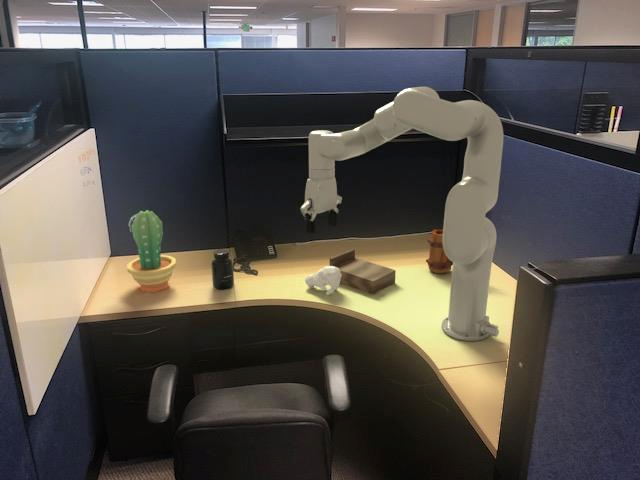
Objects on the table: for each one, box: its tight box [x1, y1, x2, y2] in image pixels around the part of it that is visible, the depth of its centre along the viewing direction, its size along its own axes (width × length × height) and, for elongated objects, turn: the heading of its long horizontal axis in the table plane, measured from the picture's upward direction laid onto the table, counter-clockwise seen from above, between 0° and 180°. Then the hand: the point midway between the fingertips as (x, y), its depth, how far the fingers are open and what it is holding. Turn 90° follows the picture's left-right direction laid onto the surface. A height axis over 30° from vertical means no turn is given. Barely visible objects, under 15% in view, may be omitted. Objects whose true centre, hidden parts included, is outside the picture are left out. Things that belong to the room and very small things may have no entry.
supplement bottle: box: [210, 248, 235, 291], centre depth 165 cm, size 7×7×12 cm
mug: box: [425, 229, 453, 274], centre depth 174 cm, size 15×8×15 cm, turn 62°
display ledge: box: [329, 248, 397, 295], centre depth 169 cm, size 18×12×8 cm, turn 47°
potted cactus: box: [126, 209, 177, 293], centre depth 164 cm, size 15×15×25 cm
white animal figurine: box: [304, 265, 342, 296], centre depth 162 cm, size 6×8×12 cm
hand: (321, 228), depth 157 cm, fingers open, 9 cm apart
